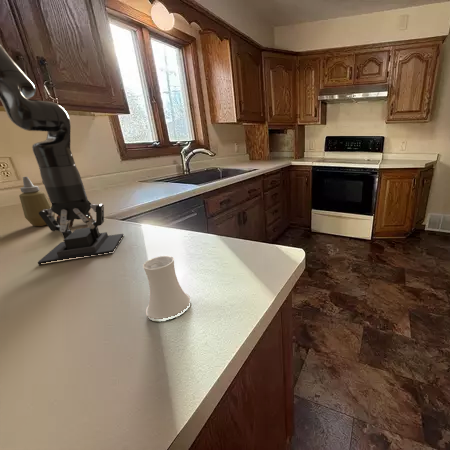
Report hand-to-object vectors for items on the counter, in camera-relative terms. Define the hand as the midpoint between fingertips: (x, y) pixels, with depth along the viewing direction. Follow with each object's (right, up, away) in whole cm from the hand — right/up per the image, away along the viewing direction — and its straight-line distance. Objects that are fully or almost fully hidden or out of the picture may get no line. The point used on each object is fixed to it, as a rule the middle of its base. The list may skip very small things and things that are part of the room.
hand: (83, 240), depth 71 cm
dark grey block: (0, 0, 0) cm, 0 cm away
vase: (+38, -12, -24) cm, 47 cm away
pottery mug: (-21, +4, +19) cm, 28 cm away
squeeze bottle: (-35, +5, +22) cm, 42 cm away
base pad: (0, -2, +1) cm, 3 cm away
